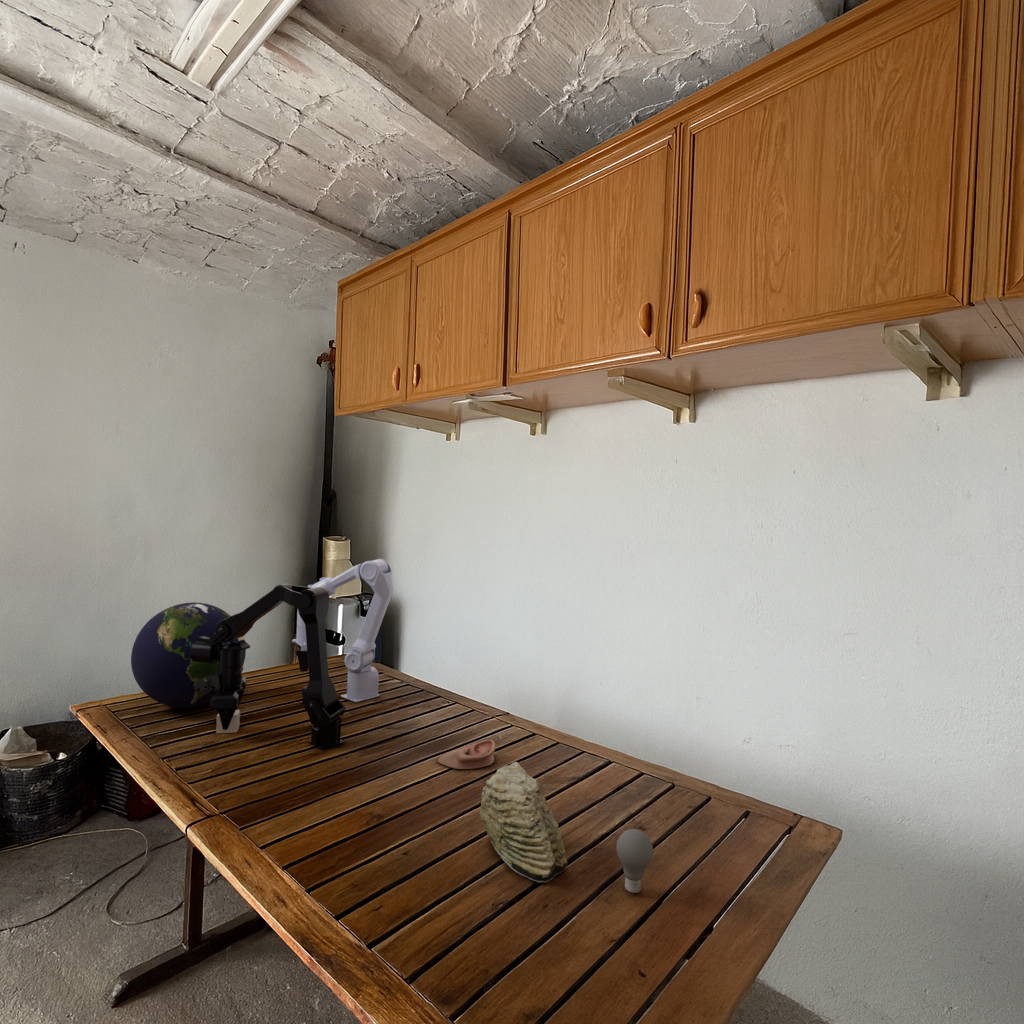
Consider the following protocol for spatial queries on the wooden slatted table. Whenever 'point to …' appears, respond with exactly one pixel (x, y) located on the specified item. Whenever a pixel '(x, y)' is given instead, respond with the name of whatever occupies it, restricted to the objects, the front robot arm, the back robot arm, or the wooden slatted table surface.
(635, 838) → the light bulb
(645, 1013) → the wooden slatted table surface
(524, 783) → the fossil
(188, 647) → the globe
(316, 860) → the wooden slatted table surface
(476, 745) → the anatomical model
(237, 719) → the block
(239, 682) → the front robot arm
